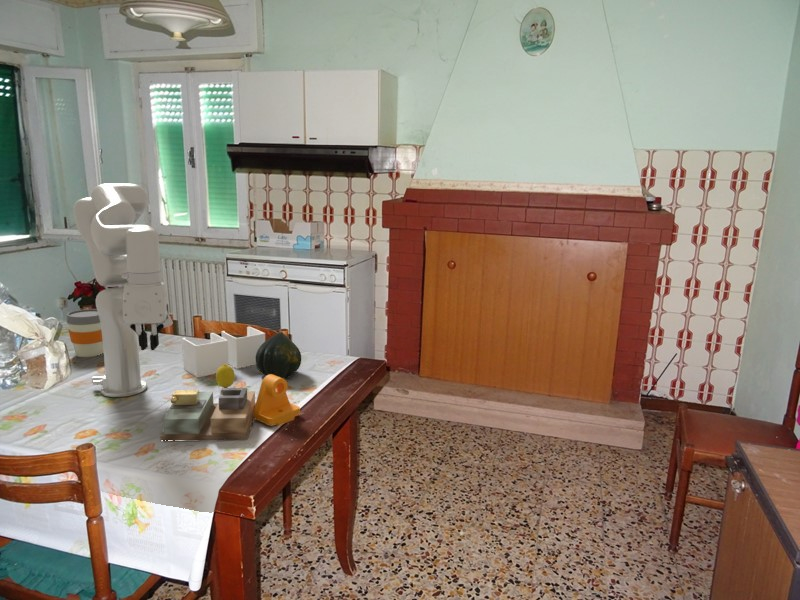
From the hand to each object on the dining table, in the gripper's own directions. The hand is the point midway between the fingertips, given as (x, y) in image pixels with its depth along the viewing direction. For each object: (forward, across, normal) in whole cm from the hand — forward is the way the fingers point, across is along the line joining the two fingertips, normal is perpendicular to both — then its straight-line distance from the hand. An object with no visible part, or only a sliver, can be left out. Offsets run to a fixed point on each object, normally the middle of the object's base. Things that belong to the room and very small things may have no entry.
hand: (149, 348), depth 144 cm
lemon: (+21, +14, +25) cm, 36 cm away
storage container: (+22, +10, +47) cm, 53 cm away
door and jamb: (+21, +15, 0) cm, 26 cm away
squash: (+21, +29, +37) cm, 52 cm away
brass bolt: (+15, +8, -1) cm, 17 cm away
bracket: (+21, +32, +2) cm, 39 cm away
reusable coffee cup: (+21, -40, +61) cm, 76 cm away
